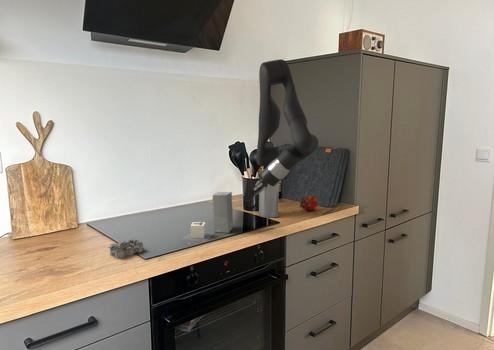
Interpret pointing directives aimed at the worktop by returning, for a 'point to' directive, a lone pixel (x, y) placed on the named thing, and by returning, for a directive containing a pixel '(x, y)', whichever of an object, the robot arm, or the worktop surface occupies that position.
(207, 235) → the reading mat
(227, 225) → the skincare box
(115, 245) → the grey lumpy piece
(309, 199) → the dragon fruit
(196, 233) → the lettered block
